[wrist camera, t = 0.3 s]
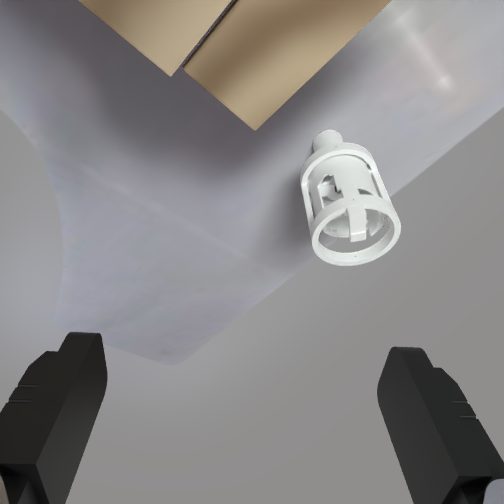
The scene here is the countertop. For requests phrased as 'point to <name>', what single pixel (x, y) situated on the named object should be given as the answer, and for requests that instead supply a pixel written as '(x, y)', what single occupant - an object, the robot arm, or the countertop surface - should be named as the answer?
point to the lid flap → (160, 25)
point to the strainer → (346, 199)
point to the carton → (273, 50)
